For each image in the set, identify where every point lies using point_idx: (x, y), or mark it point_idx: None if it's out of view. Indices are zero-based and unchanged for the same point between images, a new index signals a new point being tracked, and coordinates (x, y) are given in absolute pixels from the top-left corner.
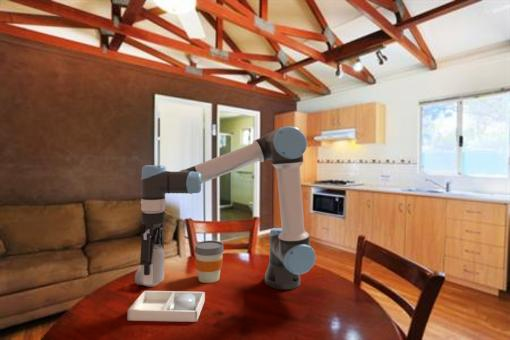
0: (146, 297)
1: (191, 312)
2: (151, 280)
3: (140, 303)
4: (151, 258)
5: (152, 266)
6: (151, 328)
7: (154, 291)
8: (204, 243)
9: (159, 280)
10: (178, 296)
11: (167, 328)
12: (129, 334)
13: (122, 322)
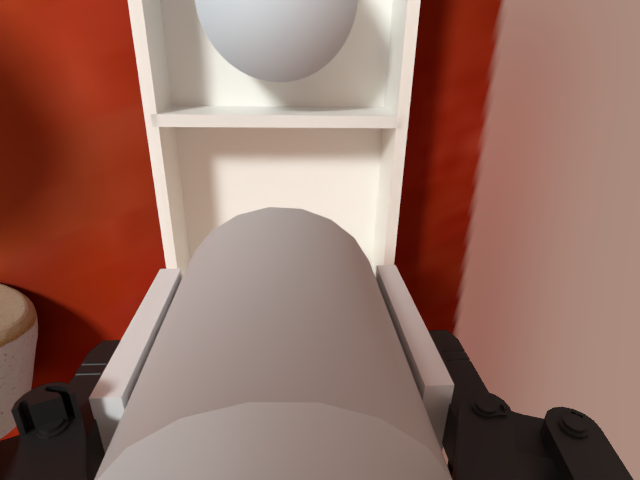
0: None
1: None
2: (403, 282)
3: None
4: (478, 454)
5: (419, 362)
6: (428, 150)
7: (171, 252)
8: None
9: (336, 227)
10: (249, 58)
11: (436, 65)
12: (463, 229)
13: None
